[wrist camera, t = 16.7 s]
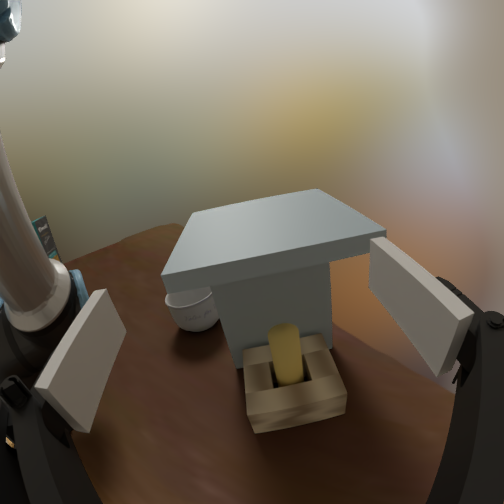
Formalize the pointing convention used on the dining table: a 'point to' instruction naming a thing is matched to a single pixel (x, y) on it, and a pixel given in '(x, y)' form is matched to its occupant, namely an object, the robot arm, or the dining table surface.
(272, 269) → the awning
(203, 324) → the teacup
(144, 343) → the dining table surface
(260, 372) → the socket block
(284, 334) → the peg
